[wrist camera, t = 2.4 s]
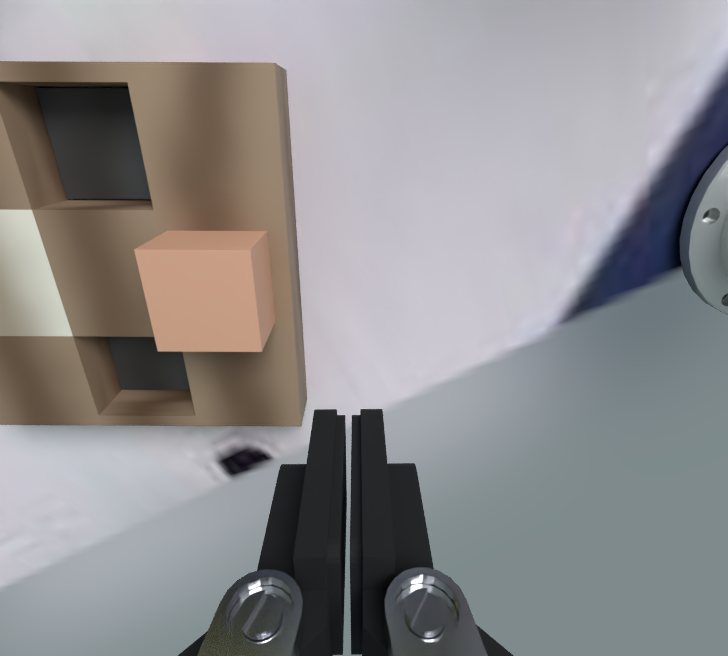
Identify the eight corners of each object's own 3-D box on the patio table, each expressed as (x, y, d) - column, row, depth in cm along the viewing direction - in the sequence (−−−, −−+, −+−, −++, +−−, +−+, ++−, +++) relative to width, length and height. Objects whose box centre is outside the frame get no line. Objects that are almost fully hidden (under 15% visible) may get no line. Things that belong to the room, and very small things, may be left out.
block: (267, 231, 22) (250, 250, 18) (275, 321, 24) (262, 351, 21) (167, 230, 22) (133, 249, 18) (185, 320, 24) (157, 351, 21)
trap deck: (286, 70, 21) (274, 62, 18) (306, 398, 30) (301, 426, 27) (-100, 68, 21) (-168, 60, 18) (31, 397, 30) (-2, 424, 27)
